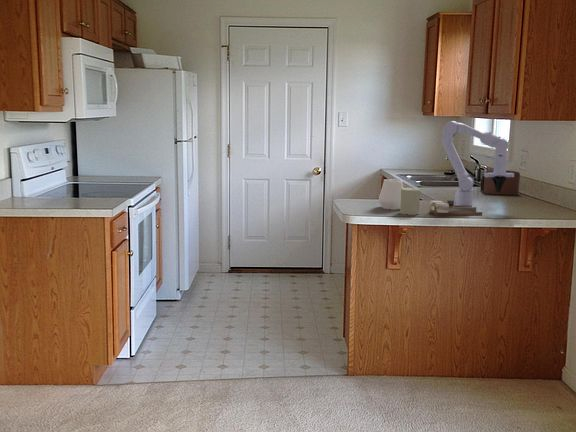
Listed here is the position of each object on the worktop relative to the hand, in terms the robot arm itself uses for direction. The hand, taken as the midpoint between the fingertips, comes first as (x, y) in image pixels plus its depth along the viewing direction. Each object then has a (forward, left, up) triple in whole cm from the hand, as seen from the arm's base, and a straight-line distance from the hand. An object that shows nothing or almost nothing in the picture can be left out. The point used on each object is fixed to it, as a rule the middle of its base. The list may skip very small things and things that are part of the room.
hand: (497, 191), depth 316 cm
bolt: (+6, -31, -8) cm, 32 cm away
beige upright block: (+3, -46, -10) cm, 47 cm away
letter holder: (-56, +31, -10) cm, 65 cm away
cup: (-11, -50, -10) cm, 52 cm away
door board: (+6, -24, -9) cm, 26 cm away
